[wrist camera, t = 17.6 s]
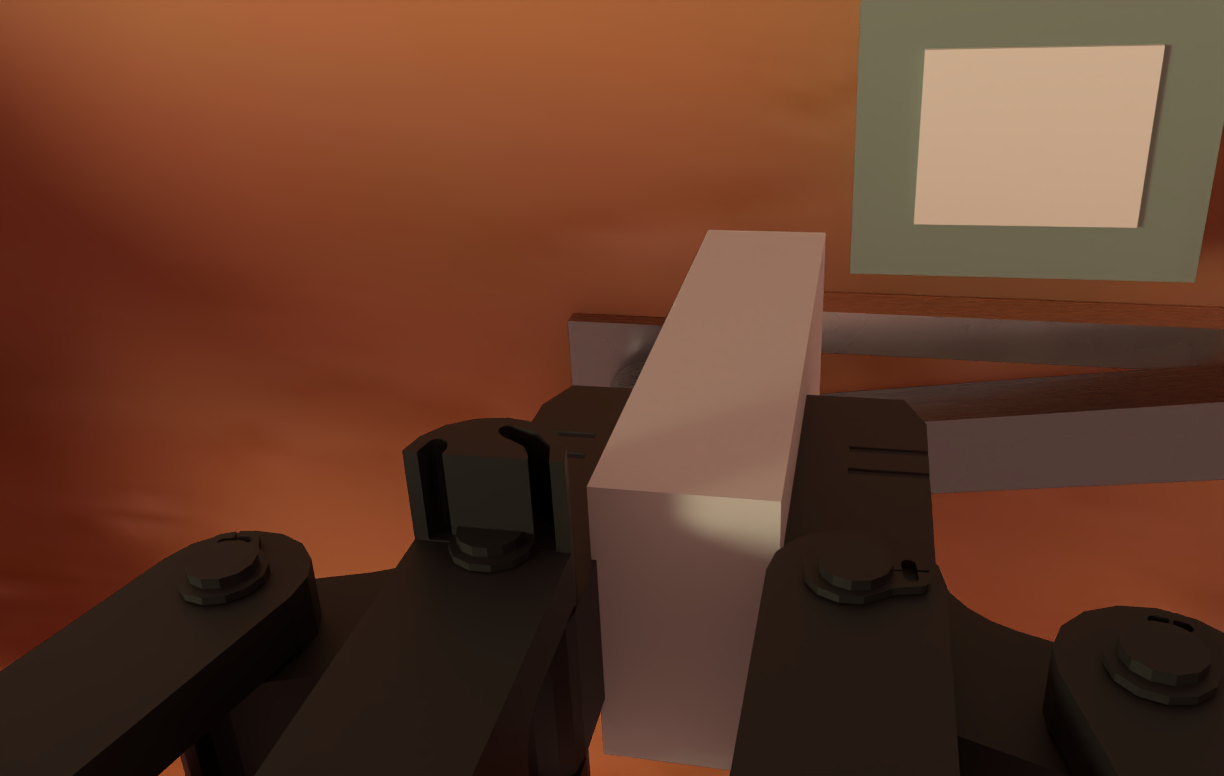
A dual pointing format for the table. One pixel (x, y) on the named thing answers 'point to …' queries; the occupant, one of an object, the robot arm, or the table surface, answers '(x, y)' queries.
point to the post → (610, 348)
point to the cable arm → (1071, 429)
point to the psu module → (1036, 137)
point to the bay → (1023, 331)
